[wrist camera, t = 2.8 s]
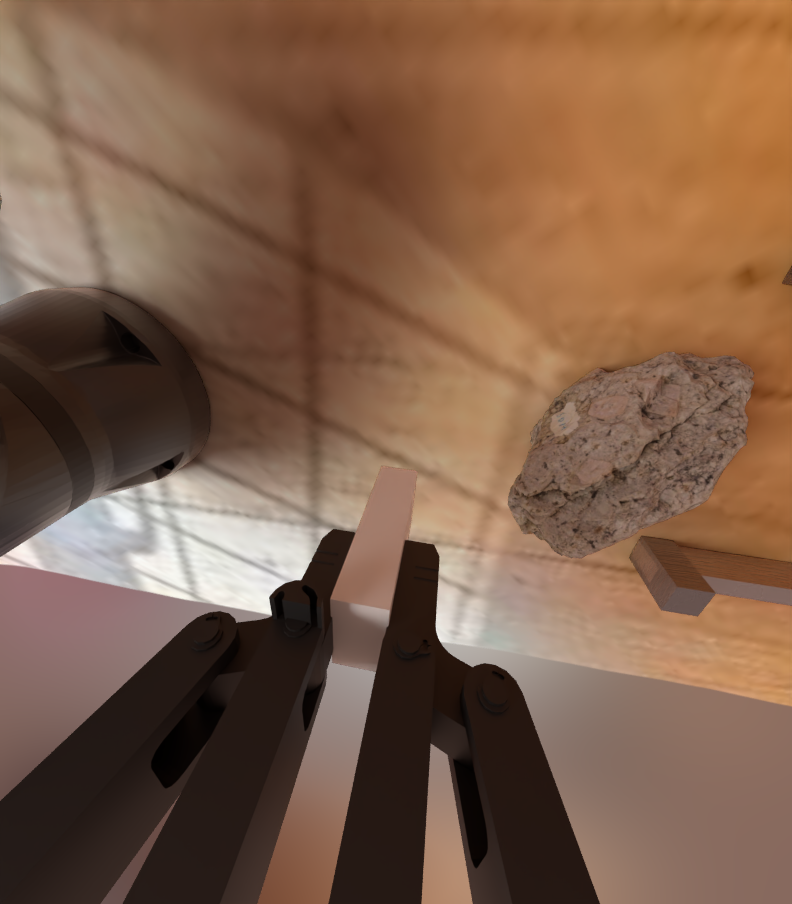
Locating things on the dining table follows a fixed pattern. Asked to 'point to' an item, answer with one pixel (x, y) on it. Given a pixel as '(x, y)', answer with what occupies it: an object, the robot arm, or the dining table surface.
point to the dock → (708, 572)
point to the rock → (630, 450)
